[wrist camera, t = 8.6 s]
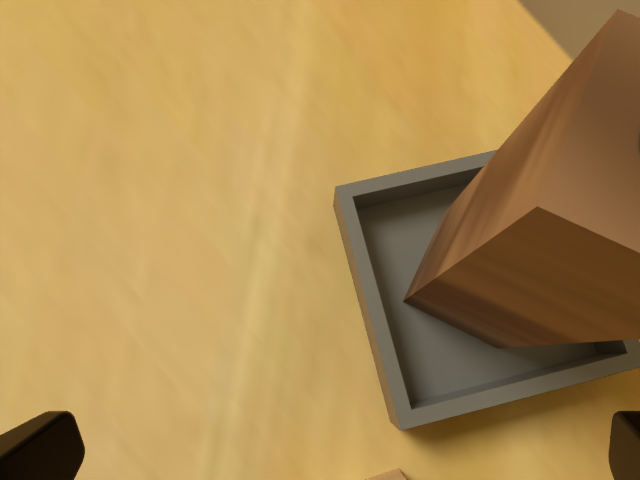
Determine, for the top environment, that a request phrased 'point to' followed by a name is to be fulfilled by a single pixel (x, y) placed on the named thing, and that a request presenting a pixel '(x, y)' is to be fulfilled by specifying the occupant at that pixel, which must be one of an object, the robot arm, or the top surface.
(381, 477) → the short block
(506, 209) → the tall block
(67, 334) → the top surface
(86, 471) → the top surface
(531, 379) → the tray
